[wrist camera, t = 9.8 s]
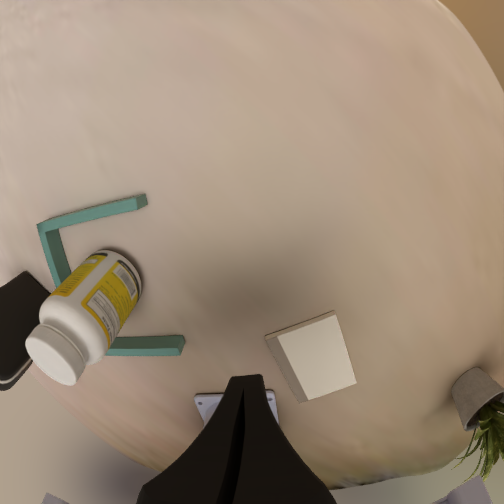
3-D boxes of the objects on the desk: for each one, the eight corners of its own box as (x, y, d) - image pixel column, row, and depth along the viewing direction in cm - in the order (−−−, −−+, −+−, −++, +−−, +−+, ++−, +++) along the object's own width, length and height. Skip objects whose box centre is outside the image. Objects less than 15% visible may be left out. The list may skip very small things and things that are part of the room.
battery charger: (18, 291, 22) (-48, 347, 12) (24, 266, 21) (-52, 322, 11) (62, 333, 24) (4, 404, 13) (71, 311, 23) (4, 387, 12)
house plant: (394, 421, 28) (431, 523, 12) (458, 337, 23) (536, 441, 8) (456, 416, 29) (495, 491, 14) (510, 346, 25) (569, 417, 9)
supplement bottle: (84, 287, 22) (22, 362, 13) (92, 236, 20) (10, 310, 11) (136, 315, 23) (85, 404, 14) (151, 267, 20) (86, 362, 11)
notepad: (355, 379, 25) (356, 383, 24) (298, 398, 26) (298, 403, 25) (333, 310, 22) (335, 314, 21) (265, 335, 23) (265, 340, 22)
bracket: (184, 342, 23) (180, 355, 22) (93, 343, 24) (86, 354, 22) (145, 193, 19) (135, 197, 17) (48, 218, 20) (36, 224, 18)
